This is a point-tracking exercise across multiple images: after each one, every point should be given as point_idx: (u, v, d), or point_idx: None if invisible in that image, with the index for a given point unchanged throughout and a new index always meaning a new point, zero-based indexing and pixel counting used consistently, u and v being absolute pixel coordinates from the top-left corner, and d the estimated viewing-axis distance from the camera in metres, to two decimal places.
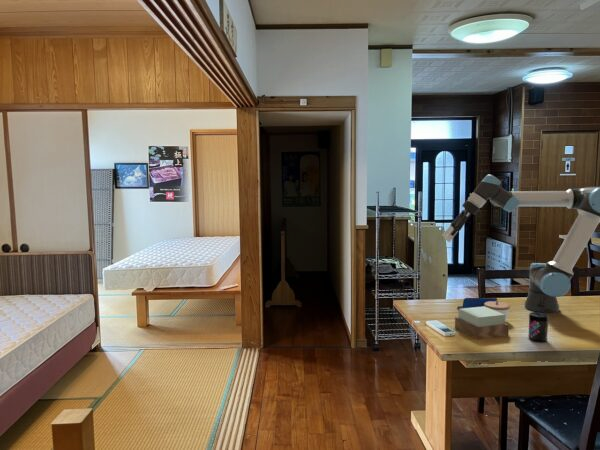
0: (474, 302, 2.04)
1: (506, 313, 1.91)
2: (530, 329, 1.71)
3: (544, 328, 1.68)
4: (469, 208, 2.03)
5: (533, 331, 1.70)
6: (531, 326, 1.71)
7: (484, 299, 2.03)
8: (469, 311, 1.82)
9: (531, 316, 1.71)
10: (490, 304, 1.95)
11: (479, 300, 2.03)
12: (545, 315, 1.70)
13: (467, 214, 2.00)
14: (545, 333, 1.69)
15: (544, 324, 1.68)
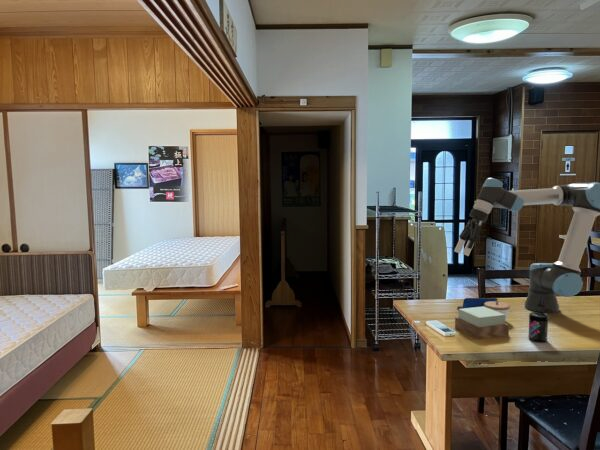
0: (474, 302, 2.04)
1: (506, 313, 1.91)
2: (530, 329, 1.71)
3: (544, 328, 1.68)
4: (479, 216, 1.91)
5: (533, 331, 1.70)
6: (531, 326, 1.71)
7: (484, 299, 2.02)
8: (469, 311, 1.82)
9: (531, 316, 1.71)
10: (490, 304, 1.95)
11: (479, 300, 2.03)
12: (545, 315, 1.70)
13: (479, 223, 1.88)
14: (545, 333, 1.69)
15: (544, 324, 1.68)
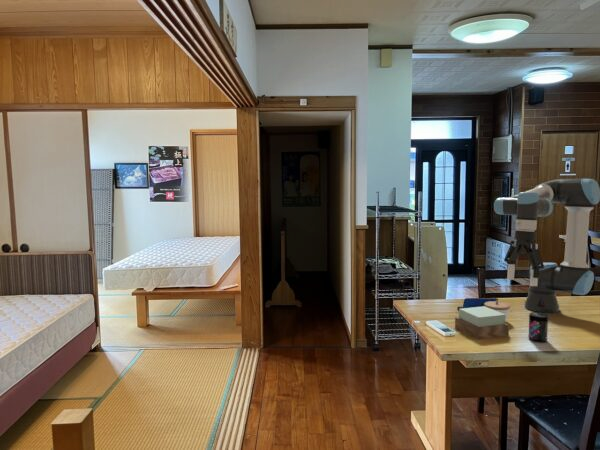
0: (474, 303, 2.04)
1: (506, 313, 1.91)
2: (530, 329, 1.71)
3: (544, 328, 1.68)
4: (529, 238, 1.69)
5: (533, 331, 1.70)
6: (531, 326, 1.71)
7: (484, 299, 2.02)
8: (469, 311, 1.83)
9: (531, 316, 1.71)
10: (490, 304, 1.95)
11: (479, 300, 2.03)
12: (545, 315, 1.70)
13: (536, 246, 1.66)
14: (545, 333, 1.69)
15: (544, 324, 1.68)
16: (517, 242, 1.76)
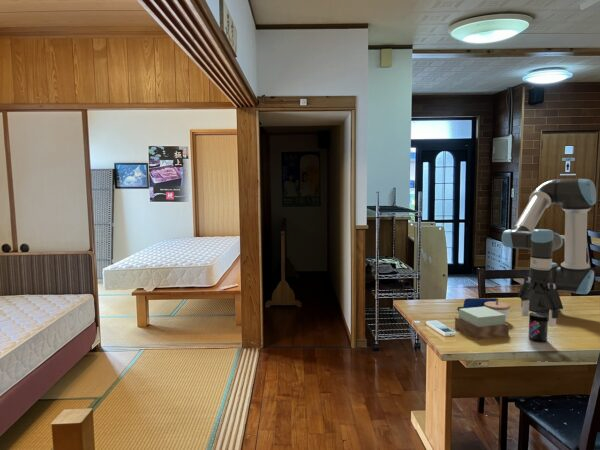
0: (474, 303, 2.03)
1: (506, 313, 1.91)
2: (530, 329, 1.71)
3: (544, 328, 1.68)
4: (546, 277, 1.66)
5: (533, 331, 1.70)
6: (531, 326, 1.71)
7: (485, 299, 2.02)
8: (469, 311, 1.82)
9: (531, 316, 1.71)
10: (490, 304, 1.95)
11: (480, 300, 2.02)
12: (545, 315, 1.70)
13: (553, 286, 1.63)
14: (545, 333, 1.69)
15: (544, 324, 1.68)
16: (532, 279, 1.72)
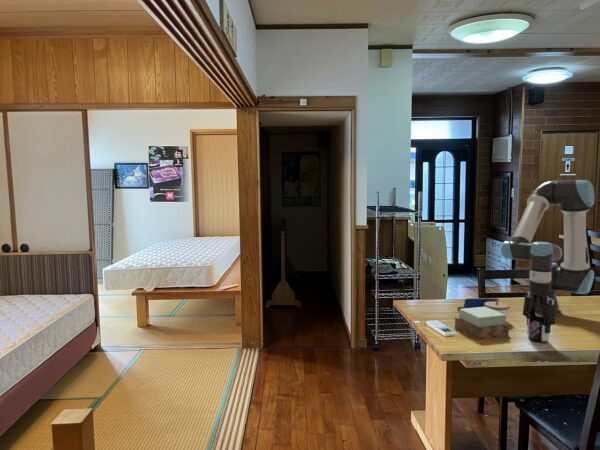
0: (475, 303, 2.03)
1: (506, 313, 1.91)
2: (530, 329, 1.71)
3: None
4: (545, 290, 1.67)
5: (533, 331, 1.70)
6: (531, 326, 1.71)
7: (485, 300, 2.01)
8: (470, 311, 1.83)
9: (531, 316, 1.71)
10: (490, 304, 1.95)
11: (480, 301, 2.02)
12: None
13: (552, 303, 1.64)
14: None
15: None
16: (531, 292, 1.73)
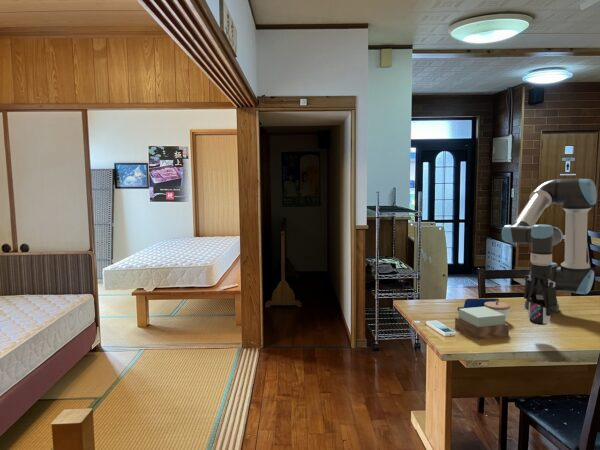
0: (475, 303, 2.03)
1: (506, 313, 1.91)
2: (531, 312, 1.71)
3: None
4: (546, 273, 1.66)
5: (534, 314, 1.70)
6: (532, 309, 1.70)
7: (485, 300, 2.01)
8: (469, 311, 1.82)
9: (532, 299, 1.70)
10: (490, 304, 1.95)
11: (481, 301, 2.02)
12: None
13: (553, 285, 1.64)
14: None
15: None
16: (532, 275, 1.72)
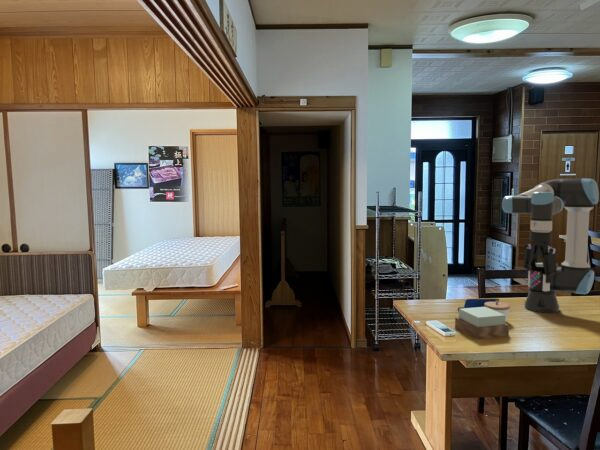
0: (475, 303, 2.02)
1: (506, 313, 1.91)
2: (531, 280, 1.70)
3: None
4: (546, 240, 1.65)
5: (534, 282, 1.68)
6: (532, 277, 1.69)
7: (486, 300, 2.01)
8: (469, 311, 1.82)
9: (532, 267, 1.69)
10: (490, 304, 1.95)
11: (481, 301, 2.01)
12: None
13: (553, 251, 1.63)
14: None
15: None
16: (532, 243, 1.71)
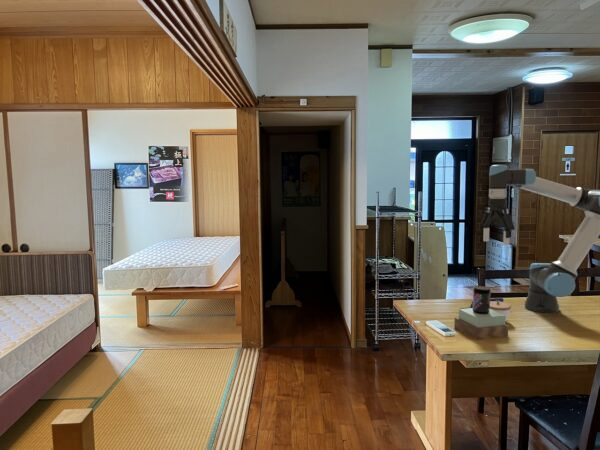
0: None
1: (506, 313, 1.91)
2: (474, 301, 1.81)
3: (486, 300, 1.78)
4: (501, 204, 1.97)
5: (476, 303, 1.80)
6: (474, 299, 1.80)
7: (491, 300, 2.00)
8: (469, 311, 1.82)
9: (474, 289, 1.80)
10: (491, 304, 1.95)
11: None
12: (488, 288, 1.80)
13: (507, 211, 1.94)
14: (486, 305, 1.78)
15: (486, 297, 1.78)
16: (491, 208, 2.03)
